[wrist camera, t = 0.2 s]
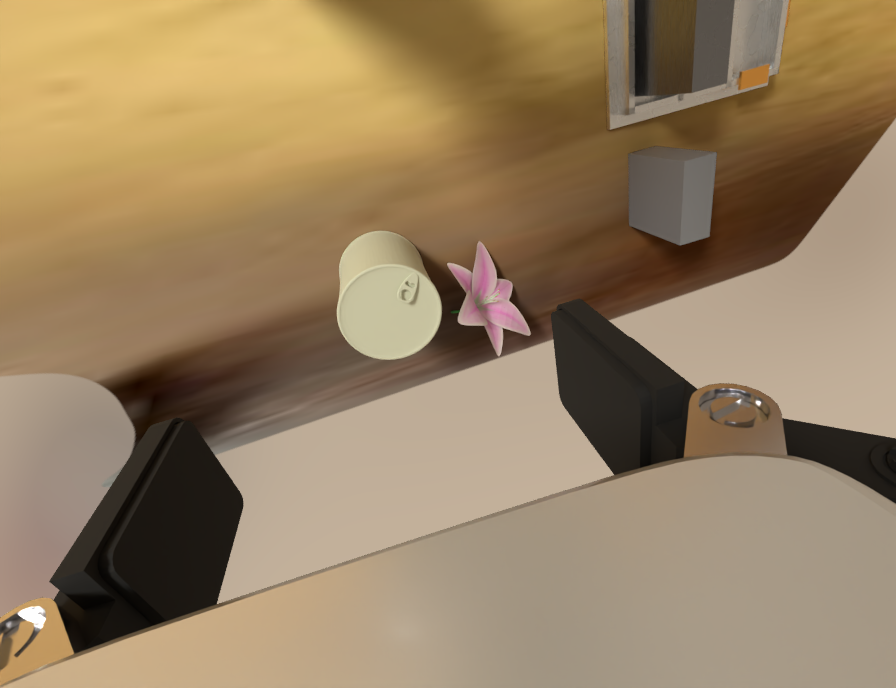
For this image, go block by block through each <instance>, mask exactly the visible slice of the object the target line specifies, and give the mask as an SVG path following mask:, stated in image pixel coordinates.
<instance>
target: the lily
mask: <svg viewBox="0 0 896 688" xmlns="http://www.w3.org/2000/svg"><path fill="white" fill-rule="evenodd" d="M447 266H448V267H449V269H450V270H451V272H452V273H453V275H454V276H455V278H456V279H457V281H458V282H459V283H460V285H461V286H462V288H463V289H464V291H465V292H466V297H465V300H464V302H463V305H462V307H461V310H456V311H451V313H459V316H458V322H459V323H460V324H462V325H469V326H485V329H486V331H487V333H488V335H489V338H490V340H491V342H492V344H493V347H494V349H495V351H496V354H497V355H498V356H500V354H501V350H502V344H503V329H502V328H505V329H508V330H512V331H515V332H518V333H521V334H524V335H528V336H530V335H531V333H530V329H529V327H528V325H527V323H526V321H525V319H524V318H523V316H522V315H521V313H520V311H519V310H518V309H517V308H516V306H515V305H513V304H512V303H511V302H510V301H509V299H510V296H511V293H512V288H513V285H512V283H511V282H510V281H508V280H505V279H497V274H496V269H495V266H494V263H493V261H492V259H491V257H490V255H489V253H488V251H487V249H486V248H485V246H484V245H483V244H482V243H481V242H480V241H479V242H478V245H477V253H476V259H475V264H474V269H473V274H472V273H471V272H470V271H469V270H467V269H466V268H463V267H461V266H459V265H456V264H453V263H447Z"/></svg>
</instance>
